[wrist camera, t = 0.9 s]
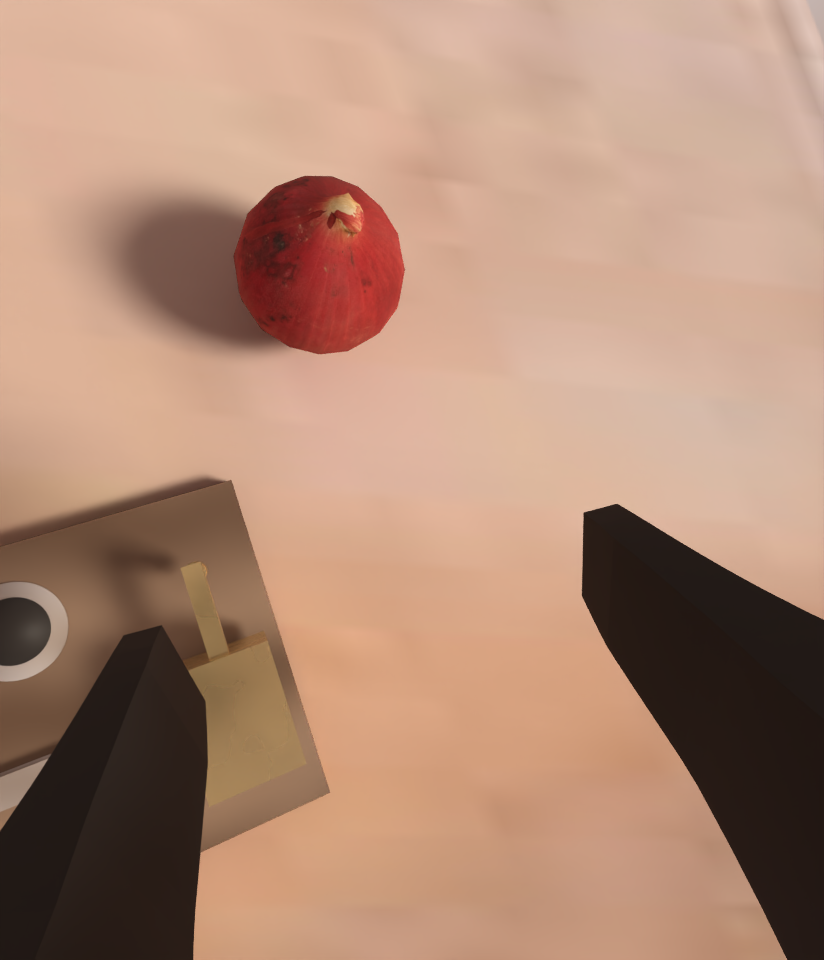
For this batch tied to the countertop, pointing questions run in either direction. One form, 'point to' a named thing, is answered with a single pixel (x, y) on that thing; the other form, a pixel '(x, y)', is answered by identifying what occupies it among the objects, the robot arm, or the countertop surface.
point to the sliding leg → (239, 702)
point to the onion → (319, 265)
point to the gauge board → (127, 609)
